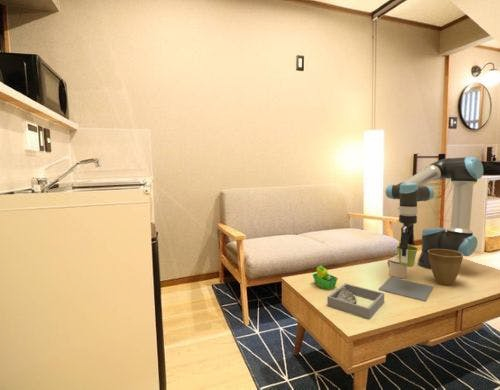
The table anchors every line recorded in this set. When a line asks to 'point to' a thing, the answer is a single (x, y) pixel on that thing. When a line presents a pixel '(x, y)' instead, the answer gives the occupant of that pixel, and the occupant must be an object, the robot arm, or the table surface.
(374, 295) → the rock display frame
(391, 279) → the charcoal mat
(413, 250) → the plant pot
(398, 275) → the teacup with lid
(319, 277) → the fruit basket
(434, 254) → the plant pot
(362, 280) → the table surface
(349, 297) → the rock sample
